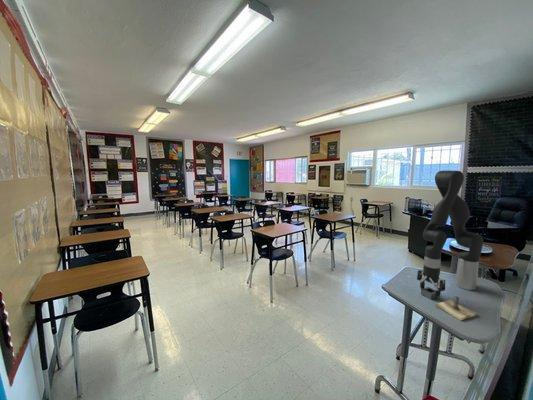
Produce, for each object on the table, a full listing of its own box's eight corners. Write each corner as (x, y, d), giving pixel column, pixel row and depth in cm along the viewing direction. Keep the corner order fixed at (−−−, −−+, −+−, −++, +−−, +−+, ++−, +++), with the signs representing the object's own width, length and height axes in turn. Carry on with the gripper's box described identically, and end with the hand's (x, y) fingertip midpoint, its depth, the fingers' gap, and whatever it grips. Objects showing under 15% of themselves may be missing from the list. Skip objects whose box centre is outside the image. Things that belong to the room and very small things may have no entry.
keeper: (450, 301, 122) (451, 289, 121) (476, 315, 110) (478, 301, 109) (435, 305, 118) (436, 293, 117) (460, 320, 107) (462, 306, 106)
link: (428, 291, 132) (428, 286, 131) (438, 297, 126) (439, 292, 125) (420, 293, 130) (420, 288, 129) (430, 299, 124) (431, 294, 124)
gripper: (450, 269, 120) (447, 297, 122) (424, 259, 133) (422, 285, 135) (440, 271, 117) (437, 300, 120) (414, 260, 131) (412, 287, 133)
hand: (429, 292), depth 128 cm, fingers open, 8 cm apart
